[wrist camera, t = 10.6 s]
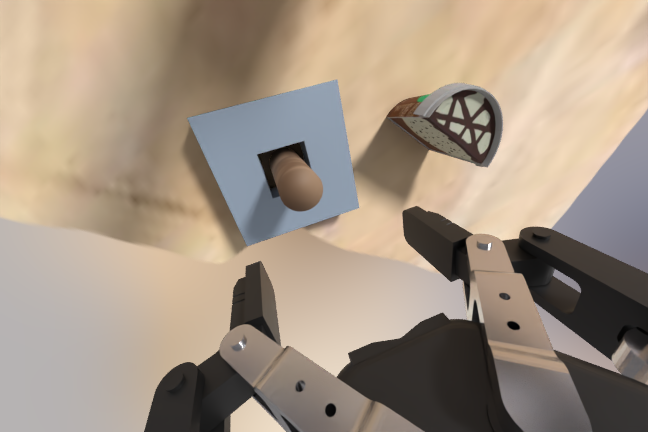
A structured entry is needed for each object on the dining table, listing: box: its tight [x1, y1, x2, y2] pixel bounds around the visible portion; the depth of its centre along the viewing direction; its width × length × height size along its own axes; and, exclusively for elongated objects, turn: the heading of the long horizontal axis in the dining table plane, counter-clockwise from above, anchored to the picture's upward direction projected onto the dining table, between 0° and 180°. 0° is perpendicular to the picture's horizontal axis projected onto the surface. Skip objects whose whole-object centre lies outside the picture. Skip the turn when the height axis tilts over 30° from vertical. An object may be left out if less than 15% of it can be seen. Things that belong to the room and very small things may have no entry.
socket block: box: [187, 80, 359, 246], centre depth 30 cm, size 16×16×4 cm
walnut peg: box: [269, 147, 323, 212], centre depth 27 cm, size 4×4×12 cm
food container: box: [387, 83, 503, 167], centre depth 30 cm, size 12×6×10 cm, turn 59°
